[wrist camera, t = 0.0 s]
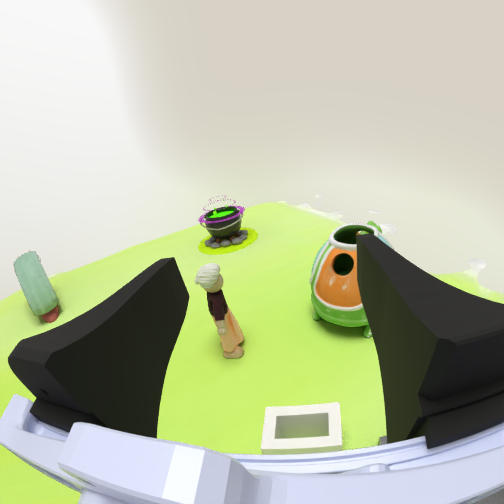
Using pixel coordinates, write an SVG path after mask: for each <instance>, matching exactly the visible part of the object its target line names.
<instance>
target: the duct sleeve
mask: <svg viewBox="0 0 504 504" xmlns="http://www.w3.org/2000/svg"><path fill="white" fill-rule="evenodd" d="M261 451H262V453H263V455H288V454H311V453H324V452H335V451H342V431H341V417H340V404H339V402H335V403H326V404H314V405H301V406H282V407H266V411H265V419H264V427H263V435H262V443H261Z"/></svg>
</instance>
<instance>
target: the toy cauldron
mask: <svg viewBox="0 0 504 504" xmlns="http://www.w3.org/2000/svg"><path fill="white" fill-rule="evenodd" d="M239 207H240V206H239ZM239 207H238V206H237V207H235V206H227V205H226V207H221V208H217V209H216V208H214V210H211V211H209V212H208V213H206V214H205V215H204V217H202V218H200V219H201V220H199V221H200V224H201V226H203V225H202V222H203V223H204V222H205V225H206V227H205V226H203V227H204V228H207V230H208V232H209V233H210V236H208V237H206V238H205V239H204V240H202V241H201V242H200V244H199V247H198V248H199V251H201V252H202V253H205V254H213V255H216V254H225V253H230V252H234V251H237V250H240V249H242V248H245V247H247V246H248V245H250V244H252V243H253V242H254V241H255V240H256V239H257V237H258V234H257V232H256V231H255V230H253V229H250V228H240V227H241V221H242V220H241V218H242V217H243V209H240V208H242V207H240V208H239ZM237 208H239V209H240V211H239V210H237ZM243 208H244V207H243ZM244 211H245V208H244ZM240 214H242V216H240ZM203 218H206V221H204V220H203ZM202 220H203V221H202Z"/></svg>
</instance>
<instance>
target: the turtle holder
mask: <svg viewBox="0 0 504 504" xmlns="http://www.w3.org/2000/svg"><path fill="white" fill-rule="evenodd" d="M358 231H361V233H359V232H358ZM369 233H372V234H374V235H375V236H376V237H378V238H379V239H380V240H382V241H383V242H384V243H385V244H387V245H388V246H389V247H391V248H392V249H393V250H394V248H393V247H392V245H391V244H390V242H389V241H388V240H387V239H386V237H385V236H384V235H383V234H382V230H381V228H380V226H377V225H376V224H375V223H374V222H372V221H369V222H368V223H367V224H359V223H349V224H344V225H341V226H339V227H338V228H336V229H335V230H334V231H333V232H332V233H331V234H330V236H329V240H328V241H327V242H326V243H325V244H324V245H323V246H322V247H321V249H320V250H319V252H318V253H317V256H316V258H315V261H314V264H313V267H312V274H311V278H310V281H309V282H310V284H311V290H312V295H311V298H312V303H313V305H314V308H315V311H314V314H313V319H314V320H319V319H321V318H323V319H325V320H326V321H328V322H331V323H334V324H337V325H341V326H346V327H358V326H364V325H366V327H365V329H364V333H363V335H364V336H365V337H367V338H370V337H371V336H372V333H371V330H370V326H369V323H368V320H367V317H366V314H365V311H364V308H363V305H362V302H361V297H360V292H359V287H358V282H357V243H356V235H361V234H369Z"/></svg>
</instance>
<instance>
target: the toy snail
mask: <svg viewBox="0 0 504 504" xmlns="http://www.w3.org/2000/svg"><path fill="white" fill-rule="evenodd" d="M14 268H15V273H16V275H17V277H18V280H19V283H20V285H21V287H22V290H23V292H24V295H25V297H26V299H27V301H28V303H29V305H30V307H31V309H32V311H33V313H34V314H35V315H41V316H42V318H43V319H44V320H45V321H46V322H47V323H51V322H53V321H55V320H56V319H57V318H58V316H59V310H58V306H57V304H58V302H59V300H58V298H57V296H56V294H55V292H54V290H53V288H52V286H51V284H50V282H49V279H48V277H47V275H46V273H45V271H44V269H43V267H42V265H41V263H40V260H39V258H38V256H37V254H36V252H35V251H29V252H28V253H25V254H23V255H21V256H20V257H18V258H17V260H16V261H15V262H14Z"/></svg>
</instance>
